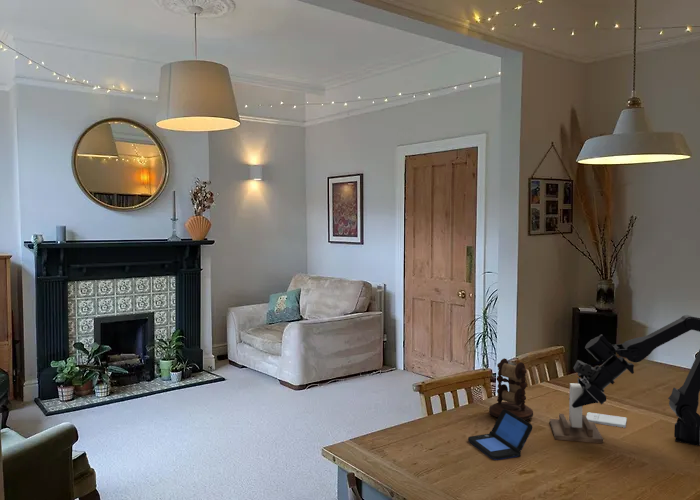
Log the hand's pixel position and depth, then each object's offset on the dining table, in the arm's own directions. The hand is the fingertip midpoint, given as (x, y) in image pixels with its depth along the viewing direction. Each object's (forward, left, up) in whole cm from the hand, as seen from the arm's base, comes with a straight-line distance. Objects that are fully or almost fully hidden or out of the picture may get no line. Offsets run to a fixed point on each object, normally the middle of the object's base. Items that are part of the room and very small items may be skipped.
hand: (571, 403), depth 184 cm
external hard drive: (-6, -17, -10) cm, 21 cm away
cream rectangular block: (-1, -1, -7) cm, 7 cm away
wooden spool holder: (+21, -2, -10) cm, 23 cm away
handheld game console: (+14, +26, -10) cm, 31 cm away
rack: (-1, -1, -9) cm, 10 cm away
